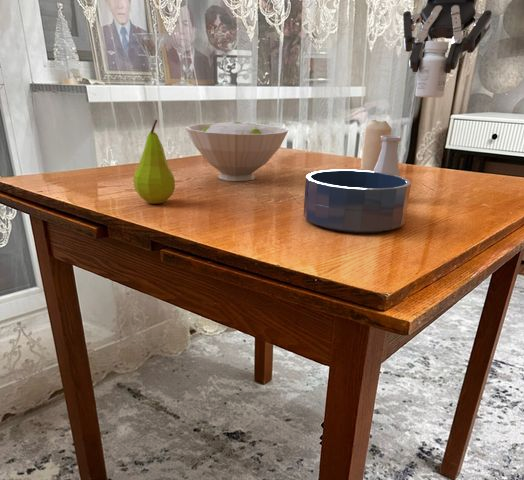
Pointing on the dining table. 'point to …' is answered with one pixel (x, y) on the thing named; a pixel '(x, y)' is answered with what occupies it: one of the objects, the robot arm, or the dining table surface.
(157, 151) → the fruit
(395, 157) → the flask
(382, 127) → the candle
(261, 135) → the bowl
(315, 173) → the blue dish
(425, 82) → the pill bottle
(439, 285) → the dining table surface
